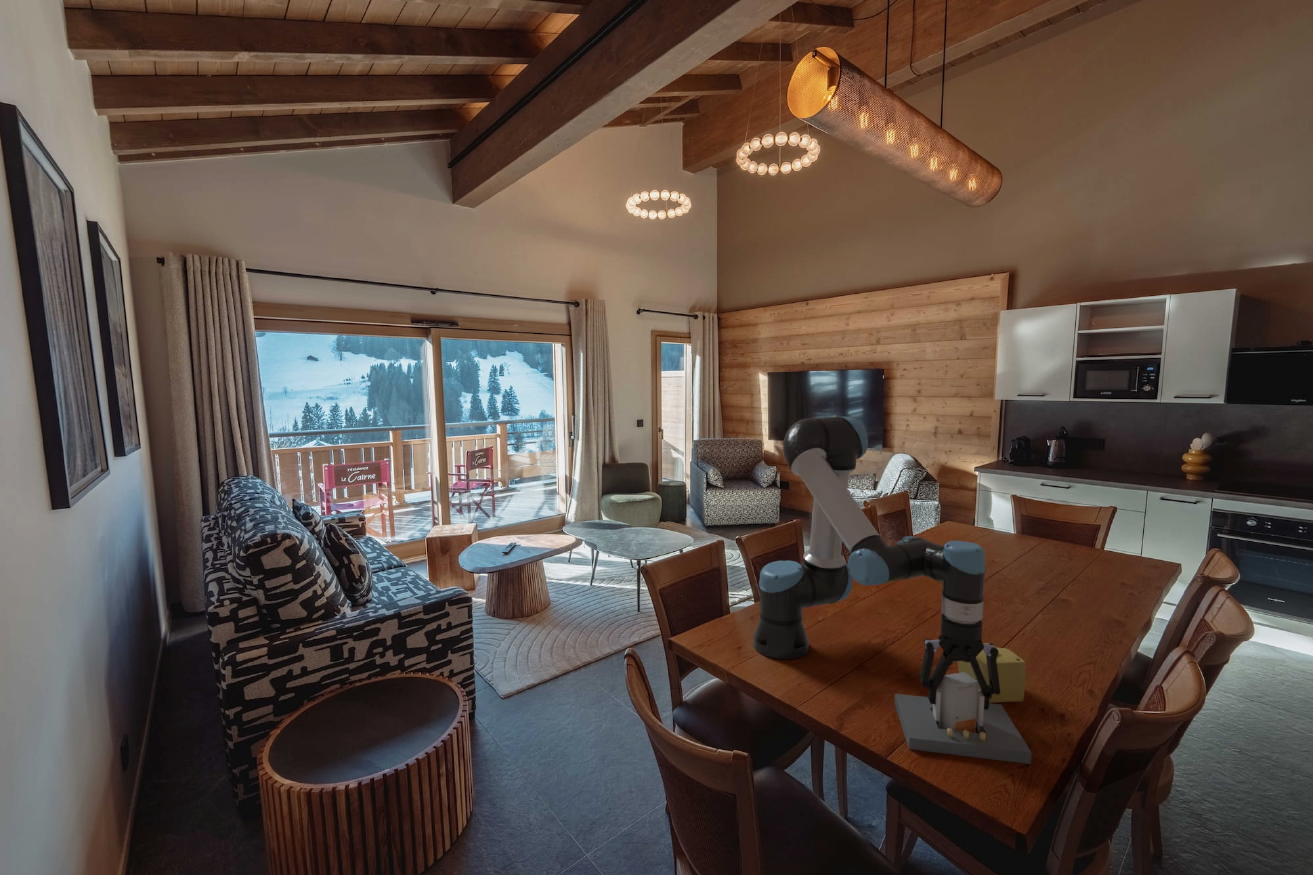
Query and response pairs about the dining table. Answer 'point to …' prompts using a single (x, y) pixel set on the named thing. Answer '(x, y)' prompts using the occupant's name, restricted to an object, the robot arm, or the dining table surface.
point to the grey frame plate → (961, 733)
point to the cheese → (1001, 674)
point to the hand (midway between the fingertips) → (957, 719)
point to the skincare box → (958, 702)
